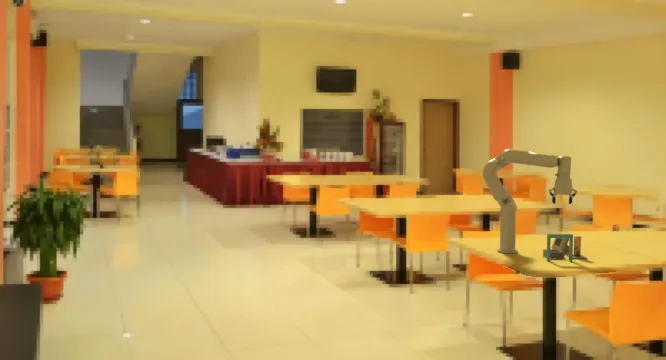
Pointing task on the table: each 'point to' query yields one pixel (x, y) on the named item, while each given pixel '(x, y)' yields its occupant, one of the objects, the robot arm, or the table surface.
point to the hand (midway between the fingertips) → (562, 203)
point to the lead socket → (554, 253)
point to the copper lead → (577, 246)
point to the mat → (578, 257)
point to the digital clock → (561, 244)
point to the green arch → (560, 237)
